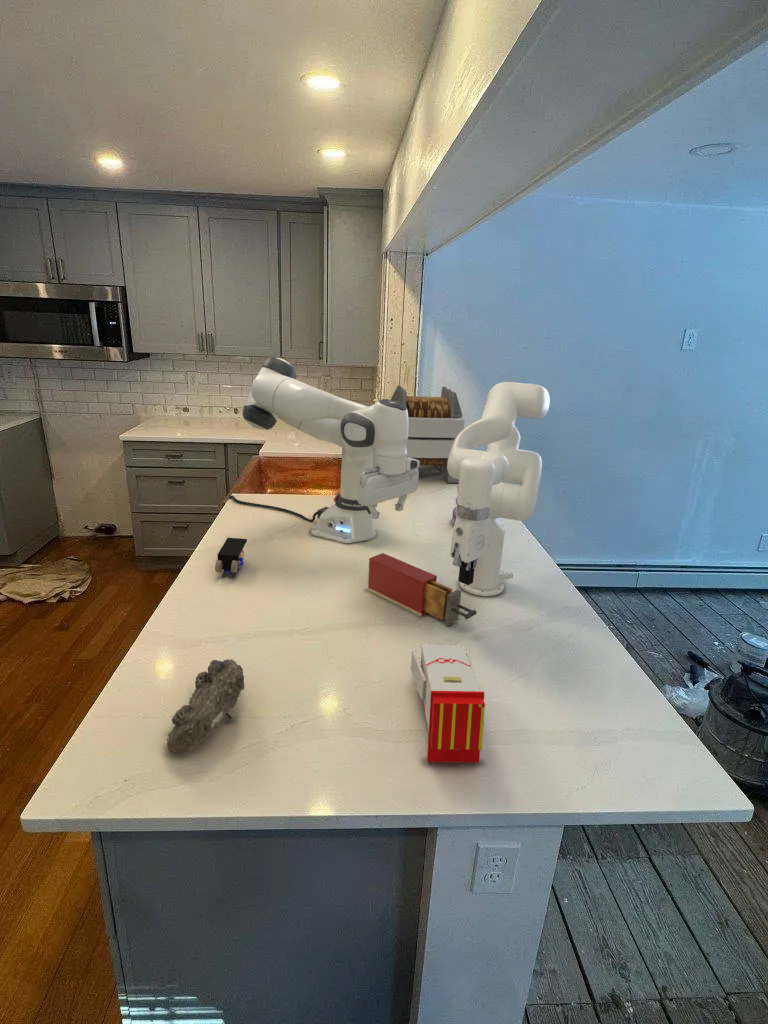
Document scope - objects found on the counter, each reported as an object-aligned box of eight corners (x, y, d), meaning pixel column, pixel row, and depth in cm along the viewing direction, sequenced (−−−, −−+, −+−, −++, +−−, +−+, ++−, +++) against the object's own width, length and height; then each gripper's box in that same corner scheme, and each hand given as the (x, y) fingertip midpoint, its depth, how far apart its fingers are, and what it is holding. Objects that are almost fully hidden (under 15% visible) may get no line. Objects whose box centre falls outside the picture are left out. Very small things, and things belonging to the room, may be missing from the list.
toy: (464, 627, 124) (494, 699, 95) (461, 683, 127) (489, 770, 98) (409, 626, 124) (422, 698, 94) (407, 682, 127) (419, 769, 97)
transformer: (382, 463, 289) (386, 382, 275) (445, 464, 293) (451, 384, 279) (390, 482, 257) (394, 392, 243) (460, 483, 261) (468, 394, 247)
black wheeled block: (238, 584, 162) (249, 557, 175) (236, 562, 158) (247, 536, 172) (215, 584, 161) (227, 556, 175) (212, 561, 158) (225, 535, 171)
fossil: (192, 660, 117) (244, 628, 112) (224, 691, 120) (276, 661, 115) (142, 746, 98) (202, 712, 93) (182, 779, 101) (242, 748, 96)
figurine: (459, 530, 205) (463, 490, 200) (444, 520, 214) (447, 482, 209) (480, 526, 209) (485, 488, 204) (464, 517, 218) (468, 480, 213)
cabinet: (434, 609, 151) (437, 575, 147) (420, 616, 147) (423, 582, 143) (381, 584, 163) (382, 552, 160) (367, 590, 159) (369, 558, 156)
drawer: (475, 627, 141) (479, 598, 138) (465, 634, 138) (468, 604, 135) (404, 593, 156) (406, 566, 153) (394, 598, 153) (395, 571, 150)
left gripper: (370, 473, 137) (368, 526, 142) (423, 460, 151) (420, 509, 156) (352, 468, 141) (350, 519, 146) (406, 455, 155) (403, 503, 160)
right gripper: (467, 523, 124) (459, 598, 130) (504, 508, 134) (495, 578, 140) (440, 514, 128) (434, 586, 135) (477, 500, 139) (470, 568, 145)
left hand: (387, 514), depth 151 cm, fingers open, 8 cm apart
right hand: (465, 582), depth 137 cm, fingers closed
